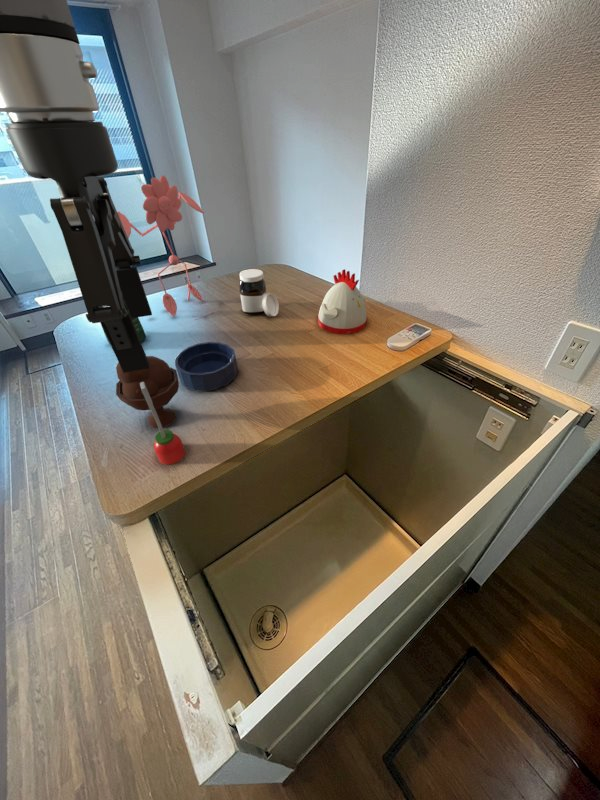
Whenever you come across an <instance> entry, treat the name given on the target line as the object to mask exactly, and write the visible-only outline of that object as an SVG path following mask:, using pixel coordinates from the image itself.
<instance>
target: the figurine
mask: <svg viewBox="0 0 600 800" xmlns="http://www.w3.org/2000/svg"><path fill="white" fill-rule="evenodd" d="M150 183H151V184H148V183H144V184H142V185H141V187H140V189H141V193H142V194H143V196H144V197H145V198H146V199H144V201H143V203H142V209H143V210H144V211H146V212H145V221H146V223H147V224H148V225H153V224H154V223H156V224H155V225H153V226H152V227H150V228H149V229H147V230H146V231H145V232H143V233H142V232H141V231H140V230H138V228H136V227H135V225H133V224H132V223H131V222H130V220H129V219H128V218H127V216H126V215H125V214H123V213H121V211H118V210H117V213H118V215H119V218H120V220H121V223H122V225H123V227H124V230H125V232H126V234H127V237H128V239H129V238H130V236H131V234H132V229H133V230H134V231H135V232H137V234H139V235H140V236H141V237H145V236H146V235H148V234H149V233H150V232H152V231H154V230H155V229H156V228H158V230H159V232H160V233H161V234H162V236H163V238H164V240H165V242H166V245H167V246H168V249H169V250H170V253H171V255H170V256H169V257H168V262H169V263H168V264H167V266H165V267H164V268H163V269H161V271H159V272H158V273H157V276H158V279H159V281H160V285H161V286H162V289H163V292H164V294H163V295H162V305H163V307H164V309H165V312H167V313H168V314H170V315H171V316H172V317H173V318H175V317H176V315H177V310H178V307H177V306H178V305H177V302H176V300H175V298H174V296H172V295H171V294H170V293H167V290H166V288H165V286H164V283H163V279H162V278H161V276H160V275H161V274H162V273H163V272H164V271H165V270H167V269H168V268H169V267H170V266H171V265H173V266H177V265H178V264H179V263H181V264H183V265H184V268H185V273H186V276H187V279H188V283H187V284H186V286H187V290H188V293H187V301H188V302H190V298H191V295H192V296H193V297H194V298H195V299H197V300H198V301H200V302H203V301H204V299H203V297H202V295H201V293H200V291H199V290H198V289H197V288H196V287H195V286H194V285H193V284H192V283H191V278H190V276H189V275H190V274H189V272H188V269H187V264H186V263H185V262H184V261H182V260H180V259H179V257H178V256H177V255H175V254H174V251H173V249H172V246H171V244H170V242H169V239H168V237H167V235H166V234H165V231H166V229H168V230H170V231H174V229H175V226H176V225H177V223H178V222H180V221H182V220H183V215H182V212H181V211H179V210H180V208H181V206H182V200H181V198H182V199H183V201H185V203H186V204H187V205H188V206H189V207H190V208H192V209H193V210H195V211H197V212H199V213H201V214H204V213H205V212H204V210H203V209H202V208H201V206H200V205H199V204H198V203H197V202H196V201H195V199H193V198H192V197H190V196H189V195H187V194H186V193H183V192H181V191H180V192H179V191H178V186H176V185H175V184H174V185H172V186H170V183H169V180H168V179H167V177H166V176H165V174H164V175H161V176H160V178H159V179H158V178H156V177H151V179H150ZM217 310H218V308H216V309H215V311H217ZM213 313H214V311H212V312H211V313H209V314H207V315H205V316H201V317H200V318H199V317H198V318H195V319H194V321H196V320H200V319H203V318H206V317H207V316H210V315H212V314H213Z"/></svg>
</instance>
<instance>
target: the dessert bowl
mask: <svg viewBox="0 0 600 800" xmlns="http://www.w3.org/2000/svg"><path fill="white" fill-rule="evenodd" d="M174 364H175V365H174V366H175V370H176V371H177V376H178V380H179V383H181V384H182V385H183V387H185V388H187V389H190V390H192V391H197V392H199V391H202V392H208V391H213V390H218V389H220V388H222V387H224V386H227V385H228V384H230V383H231V382H232V381H234V379H236V377H237V374H238V373H239V368H238V361H237V356H236V352H235V349H234V348H232V347H231V345H229V344H227V343H223V342H221V341H220V342H219V341H206V342H199V343H196V344H193V345H191V346H190V345H189V346H188V347H186V348H185V349H182V350H181V351H180V352H179V353H178V354H177V356H176V357H175V359H174Z"/></svg>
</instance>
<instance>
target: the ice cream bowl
mask: <svg viewBox="0 0 600 800" xmlns="http://www.w3.org/2000/svg"><path fill="white" fill-rule="evenodd" d="M146 357H147V359H148V362H149V364H150V366H149V368H147V369H142V370H136V371H131V372H125V373H123V370H122V368H121V366H120V364H119V362H118V363H117V364H116V367H115V370H116V375H117V379H118V381H117V382H116V384H115V396H116V397H117V398H118V399H119V400H120V401H121V402H123V404H125V405H127V406H129V407H131V408H133V409H135V410H137V411H151V409H150V408H149V406H148V404H147V401H146V399H145V397H144V394H143V392H142V390H141V386H140V383H141V382H144V383H145V385H146V388H147V390H148V393H149V395H150V397H151V400H152V403H153V406H154V408H155V411H156V413H157V416H158V418H159V420H160V423H161V425H162V427H163V429H164V428H166V427H168V426H170V425H172V424H173V423H174V422H175V421H176V419H177V414H176V413H177V412H176V411H175V410H174V409H172V408H170V407H166V408H165V407H164V406H167V405H168V404H169V403H170V401H171V400H172V399H173V398H174V397H175V395H176V394H177V393H178V391H179V387H180V381H179V376H178V373H177V369H176V368H174V367H173V368H172V367H170V365H169V364H168V363H167V362H166V361H165V360H163V359H161V358H159V357H157V356H154V355H146ZM148 425H149V426H150V427H152V428H153V429H159V428H158V425H157V423H156V421H155V418H154V416H153V414H152V413H151V414H150V415H149V416H148Z"/></svg>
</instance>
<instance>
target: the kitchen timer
mask: <svg viewBox="0 0 600 800" xmlns="http://www.w3.org/2000/svg"><path fill="white" fill-rule="evenodd" d="M355 279H356V273H355V272H354V273H352V274H351V272H350V270H347V271H346V268H344V269H342V271H339V272H337V274H334V275H333V281H334V285H332V287H330V288H329V290H328V291H327V292H326V294H325V295H324V297H323V300H322V302H321V304H320V307H319V310H318V317H317V321H318V322H317V323H318V325H319V327H320V328H321V329H323V330H324V331H326V332H329V333H331V334H336V335H352V334H356V333H359V332H360V331H362V330H364V329H365V327H366V324H367V319H368V317H367V316H368V313H367V308H366V298H365V296H364V295H363V294H362V293H361V291H360V290H359V288H358V287H357V285H358V284H359V281H360V279H357V280H355Z"/></svg>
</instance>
